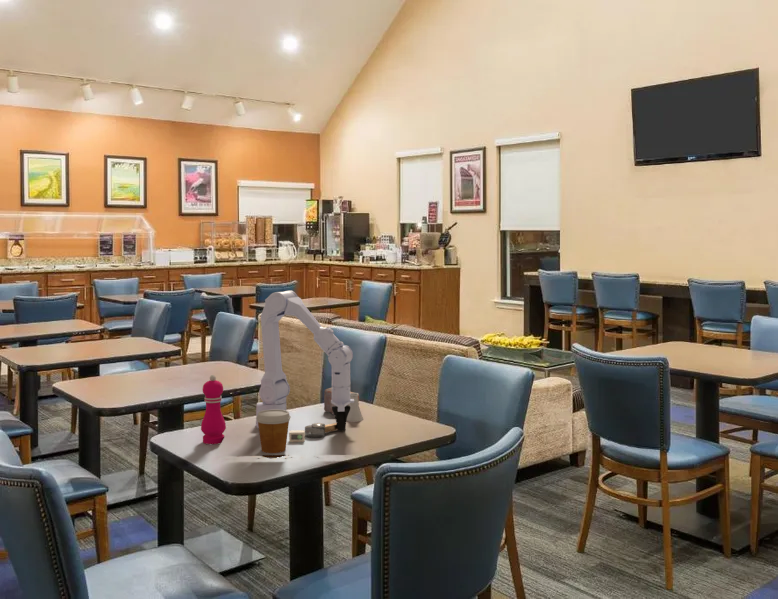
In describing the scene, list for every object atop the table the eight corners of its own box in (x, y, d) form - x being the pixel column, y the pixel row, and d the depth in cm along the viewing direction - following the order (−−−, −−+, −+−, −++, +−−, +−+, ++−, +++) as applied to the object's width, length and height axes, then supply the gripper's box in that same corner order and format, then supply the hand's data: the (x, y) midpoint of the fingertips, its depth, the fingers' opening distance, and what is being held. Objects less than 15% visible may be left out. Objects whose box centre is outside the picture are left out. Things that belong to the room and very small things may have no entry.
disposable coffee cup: (267, 449, 221) (267, 407, 220) (296, 452, 218) (296, 410, 217) (249, 457, 212) (249, 415, 211) (280, 461, 209) (279, 418, 208)
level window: (289, 443, 223) (289, 433, 222) (289, 440, 226) (289, 430, 226) (304, 443, 223) (304, 433, 223) (304, 440, 226) (304, 430, 226)
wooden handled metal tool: (313, 439, 226) (313, 428, 226) (300, 435, 231) (300, 425, 230) (351, 430, 236) (351, 420, 236) (338, 427, 241) (338, 417, 240)
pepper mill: (231, 440, 230) (230, 374, 228) (213, 446, 224) (212, 378, 222) (214, 437, 234) (213, 372, 232) (196, 442, 228) (194, 375, 226)
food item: (362, 416, 262) (362, 387, 262) (343, 419, 257) (343, 390, 256) (338, 409, 273) (338, 381, 272) (320, 412, 268) (320, 384, 267)
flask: (366, 421, 255) (366, 391, 254) (363, 427, 247) (363, 396, 247) (344, 421, 255) (344, 391, 254) (341, 426, 248) (341, 395, 247)
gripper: (354, 390, 227) (354, 435, 228) (353, 381, 241) (354, 423, 242) (330, 390, 227) (331, 435, 228) (331, 381, 241) (331, 424, 242)
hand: (341, 429), depth 235 cm, fingers closed, pressing on wooden handled metal tool
